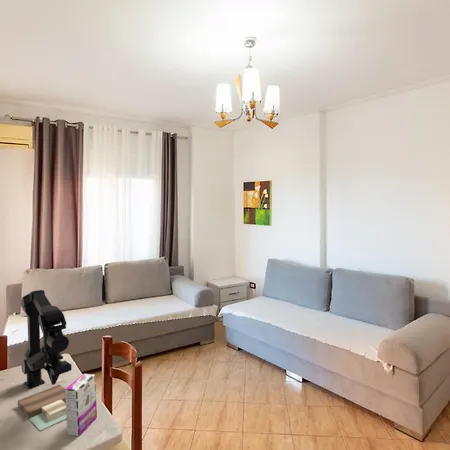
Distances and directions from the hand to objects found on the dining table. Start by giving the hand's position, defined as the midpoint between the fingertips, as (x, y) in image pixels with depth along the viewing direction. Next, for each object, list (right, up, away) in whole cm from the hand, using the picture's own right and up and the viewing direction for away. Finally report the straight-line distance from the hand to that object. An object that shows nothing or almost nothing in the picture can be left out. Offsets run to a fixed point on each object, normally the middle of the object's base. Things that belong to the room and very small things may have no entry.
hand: (53, 384), depth 132 cm
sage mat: (+2, -11, -1) cm, 11 cm away
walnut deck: (-6, -11, +6) cm, 14 cm away
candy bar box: (+14, -12, -8) cm, 20 cm away
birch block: (+1, -11, -1) cm, 11 cm away
